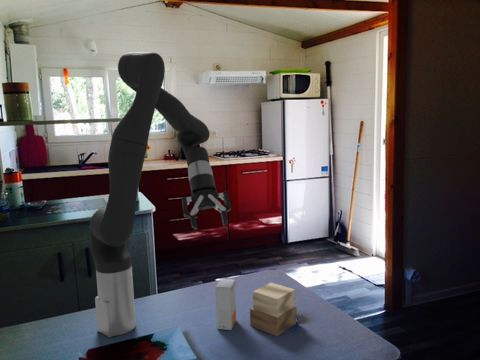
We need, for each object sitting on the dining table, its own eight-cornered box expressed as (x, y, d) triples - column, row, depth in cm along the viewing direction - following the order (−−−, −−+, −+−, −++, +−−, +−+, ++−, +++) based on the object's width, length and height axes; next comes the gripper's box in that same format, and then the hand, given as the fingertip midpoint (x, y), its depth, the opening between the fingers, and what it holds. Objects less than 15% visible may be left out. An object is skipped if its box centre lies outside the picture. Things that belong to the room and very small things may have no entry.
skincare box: (232, 330, 110) (230, 287, 108) (216, 329, 111) (215, 286, 109) (236, 319, 116) (235, 279, 114) (222, 318, 117) (220, 278, 115)
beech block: (277, 317, 106) (277, 299, 106) (253, 309, 112) (253, 291, 111) (294, 306, 112) (294, 289, 112) (271, 299, 118) (271, 282, 117)
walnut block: (276, 337, 107) (276, 318, 106) (250, 326, 113) (250, 308, 112) (296, 323, 113) (296, 306, 112) (270, 314, 119) (270, 297, 118)
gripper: (178, 175, 123) (186, 225, 116) (224, 169, 126) (235, 218, 119) (178, 187, 130) (186, 235, 122) (222, 181, 133) (232, 227, 125)
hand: (210, 226), depth 121 cm, fingers open, 8 cm apart
